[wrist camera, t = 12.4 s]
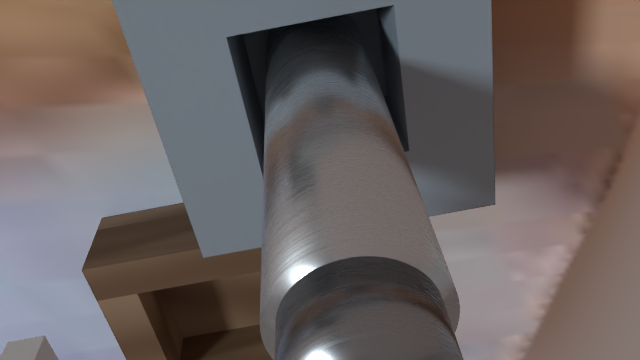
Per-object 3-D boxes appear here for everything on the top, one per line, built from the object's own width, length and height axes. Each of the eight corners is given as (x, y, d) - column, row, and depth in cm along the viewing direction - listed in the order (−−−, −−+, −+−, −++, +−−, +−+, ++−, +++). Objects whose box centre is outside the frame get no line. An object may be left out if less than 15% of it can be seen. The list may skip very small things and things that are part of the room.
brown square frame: (101, 218, 31) (81, 270, 27) (297, 181, 30) (301, 230, 27) (162, 353, 36) (152, 410, 33) (329, 323, 36) (336, 378, 32)
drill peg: (257, 9, 25) (233, 345, 10) (355, -8, 25) (489, 304, 9) (276, 99, 27) (281, 491, 12) (366, 84, 27) (491, 458, 12)
